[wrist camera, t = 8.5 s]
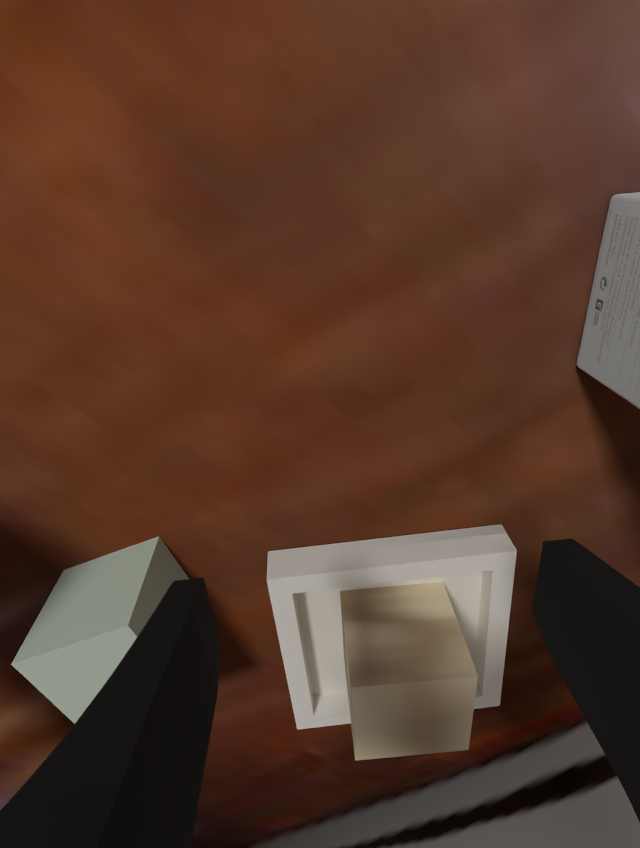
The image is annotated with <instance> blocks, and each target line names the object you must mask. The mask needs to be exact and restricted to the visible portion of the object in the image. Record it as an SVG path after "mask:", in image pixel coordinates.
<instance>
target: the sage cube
mask: <svg viewBox="0 0 640 848" xmlns="http://www.w3.org/2000/svg"><path fill="white" fill-rule="evenodd" d="M186 579H189V578H188V577H187V575H186V574H185V572H184V571H183V569H182V568H181V567H180V565H179V564H178V562H177V561H176V559H175V558H174V557H173V555H172V554H171V552H170V551H169V550H168V548H167V547H166V545H165V544H164V542H163V541H162V540H161V538H160V537H156V538H153V539H150V540H147V541H145V542H142V543H139V544H136V545H133V546H130V547H128V548H125V549H122V550H119V551H116V552H114V553H111V554H108V555H105V556H102V557H99V558H97V559H94V560H91V561H88V562H85V563H82V564H80V565H77V566H74V567H71V568H68V569H66V570H63V572H62V574H61V576H60V577H59V579H58V581H57V583H56V585H55V586H54V588H53V590H52V592H51V594H50V595H49V597H48V599H47V601H46V603H45V604H44V606H43V608H42V610H41V612H40V613H39V615H38V617H37V619H36V621H35V622H34V624H33V626H32V628H31V629H30V631H29V633H28V635H27V637H26V638H25V640H24V642H23V644H22V646H21V647H20V649H19V651H18V653H17V655H16V656H15V658H14V660H13V662H12V664H11V665H12V666H13V667H14V668H15V669H16V670H18V671H19V672H20V673H21V674H22V675H23V676H24V677H25V678H26V679H27V680H28V681H29V682H30V683H31V684H33V685H34V686H35V687H36V688H37V689H38V690H39V691H40V692H41V693H42V694H43V695H44V696H45V697H46V698H47V699H49V700H50V701H51V702H52V703H53V704H54V705H55V706H56V707H57V708H58V709H59V710H60V711H61V712H62V713H64V714H65V715H66V716H67V717H68V718H69V719H70V720H71V721H72V722H73V723H74V724H75V723H76V722H77V720H78V719H79V718H80V716H81V715H82V714H83V712H84V711H85V710H86V708H87V707H88V706H89V704H90V703H91V702H92V700H93V699H94V698H95V696H96V695H97V694H98V692H99V691H100V690H101V688H102V687H103V686H104V684H105V683H106V682H107V680H108V679H109V677H110V676H111V675H112V673H113V672H114V670H115V669H116V667H117V666H118V665H119V663H120V662H121V660H122V659H123V657H124V656H125V654H126V653H127V651H128V650H129V649H130V647H131V646H132V644H133V643H134V641H135V640H136V638H137V637H138V635H139V634H140V632H141V631H142V629H143V628H144V626H145V625H146V623H147V621H148V620H149V618H150V617H151V615H152V614H153V612H154V611H155V609H156V607H157V606H158V604H159V603H160V601H161V599H162V598H163V596H164V595H165V593H166V591H167V590H168V588H169V587H170V585H171V584H172V583H173V582H174V581H177V580H186Z"/></svg>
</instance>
